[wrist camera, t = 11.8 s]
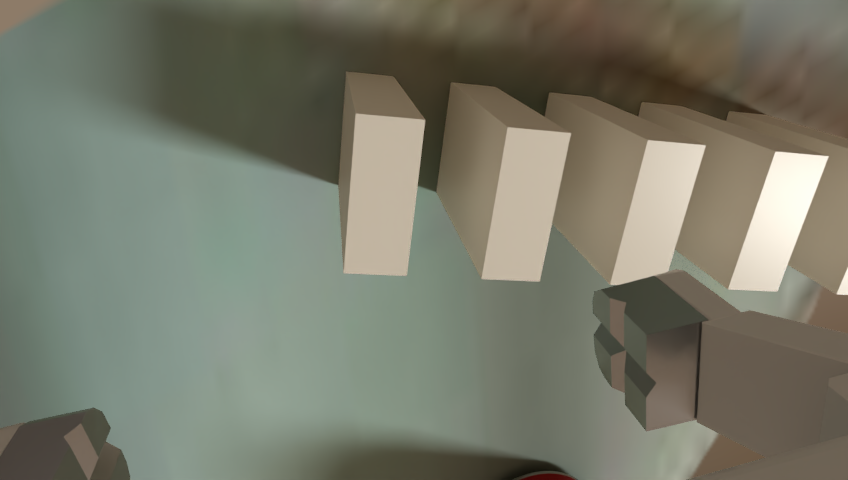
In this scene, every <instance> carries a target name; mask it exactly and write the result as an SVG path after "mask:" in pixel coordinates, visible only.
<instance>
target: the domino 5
mask: <svg viewBox="0 0 848 480" xmlns="http://www.w3.org/2000/svg"><path fill="white" fill-rule="evenodd" d="M726 121H727V122H730V123H733V124H736V125H739V126H742V127H744V128H747V129H750V130H753V131H756V132H759V133H762V134H765V135H768V136H771V137H774V138H777V139H780V140H783V141H786V142H788V143H791V144H794V145H797V146H800V147H803V148H806V149H809V150H812V151H815V152H818V153H821V154H824V155H827V156H829V157H828V160H827V162H826V165H825V168H824V170H823V173H822V175H821V178H820V181H819V183H818V186H817V189H816V191H815V194H814V196H813V199H812V202H811V204H810V207H809V210H808V212H807V215H806V217H805V220H804V223H803V225H802V228H801V231H800V233H799V236H798V238H797V241H796V244H795V246H794V249H793V252H792V254H791V257H790V259H789V262H788V265H789V266H791V267H792V268H794V269H796V270H797V271H799V272H801V273H802V274H804V275H806V276H807V277H809V278H811V279H812V280H814V281H815V282H817V283H819V284H820V285H822V286H824V287H825V288H827V289H829V290H830V291H832V292H834V293H835V294H842V295H848V139H846V138H843V137H839V136H836V135H833V134H829V133H826V132H823V131H819V130H816V129H812V128H809V127H806V126H802V125H799V124H796V123H792V122H789V121H786V120H782V119H779V118H775V117H772V116H769V115H764V114H754V113H744V112H734V111H729V112H728V115H727V118H726Z"/></svg>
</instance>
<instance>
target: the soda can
mask: <svg viewBox="0 0 848 480" xmlns="http://www.w3.org/2000/svg"><path fill="white" fill-rule="evenodd" d="M513 480H577V479H576V478H574V477H573V476H571V475H568V474H565V473H562V472H557V471H538V472H532V473H528V474H525V475H522V476H520V477H517V478H515V479H513Z"/></svg>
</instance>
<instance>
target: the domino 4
mask: <svg viewBox="0 0 848 480" xmlns="http://www.w3.org/2000/svg"><path fill="white" fill-rule="evenodd" d="M638 117H640V118H643V119H645V120H647V121H650V122H652V123H655V124H657V125H659V126H662V127H664V128H666V129H669V130H671V131H673V132H676V133H678V134H680V135H683V136H685V137H688V138H690V139H692V140H695V141H697V142H699V143H702V144H704V145H706V147H705V150H704V153H703V157H702V160H701V163H700V167H699V170H698V173H697V177H696V180H695V183H694V187H693V190H692V193H691V197H690V200H689V203H688V207H687V210H686V213H685V217H684V220H683V223H682V227H681V230H680V233H679V237H678V240H677V243H676V247H675V250H677V251H678V252H679V253H681V254H682V255H683V256H684V257H686V258H687V259H688V260H690V261H691V262H692V263H694V264H695V265H696V266H698V267H699V268H700V269H702V270H703V271H704V272H706V273H707V274H708V275H710V276H711V277H712V278H713V279H715V280H716V281H717V282H719V283H720V284H721V285H723V286H724V287H725V288H727V289H730V290H754V291H778V288H779V286H780V283H781V280H782V278H783V275H784V273H785V270H786V267H787V265H788V262H789V259H790V257H791V254H792V252H793V249H794V246H795V244H796V241H797V238H798V236H799V233H800V231H801V228H802V225H803V223H804V220H805V217H806V215H807V212H808V210H809V207H810V204H811V202H812V199H813V196H814V194H815V191H816V189H817V186H818V183H819V181H820V178H821V175H822V173H823V170H824V168H825V165H826V162H827V160H828V157H829V156H827V155H824V154H821V153H818V152H815V151H812V150H809V149H806V148H803V147H800V146H797V145H794V144H791V143H788V142H786V141H783V140H780V139H777V138H774V137H771V136H768V135H765V134H762V133H759V132H756V131H753V130H750V129H747V128H744V127H742V126H739V125H736V124H733V123H730V122H727V121H724V120H721V119H718V118H715V117H712V116H709V115H706V114H703V113H701V112H698V111H695V110H692V109H689V108H686V107H683V106H677V105H668V104H658V103H648V102H642V103H641V107H640V111H639V115H638Z"/></svg>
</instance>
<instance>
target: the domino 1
mask: <svg viewBox="0 0 848 480" xmlns="http://www.w3.org/2000/svg"><path fill="white" fill-rule="evenodd" d="M424 127H425V119H424V117H423V116H422V115H421V113H420V112H419V110H418V109H417V108H416V106H415V105H414V104H413V102H412V101H411V99H410V98H409V97H408V95H407V94H406V93H405V91H404V90H403V89H402V87H401V86H400V84H399V83H398V82H397V80H396V79H395V78H394V76H387V75H377V74H367V73H358V72H348V71H346V80H345V94H344V109H343V124H342V138H341V153H340V168H339V183H338V189H339V205H340V222H341V239H342V255H343V272H344V273H350V274H374V275H398V276H407V269H408V261H409V252H410V244H411V236H412V227H413V219H414V211H415V202H416V194H417V186H418V177H419V169H420V161H421V152H422V144H423V136H424Z"/></svg>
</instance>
